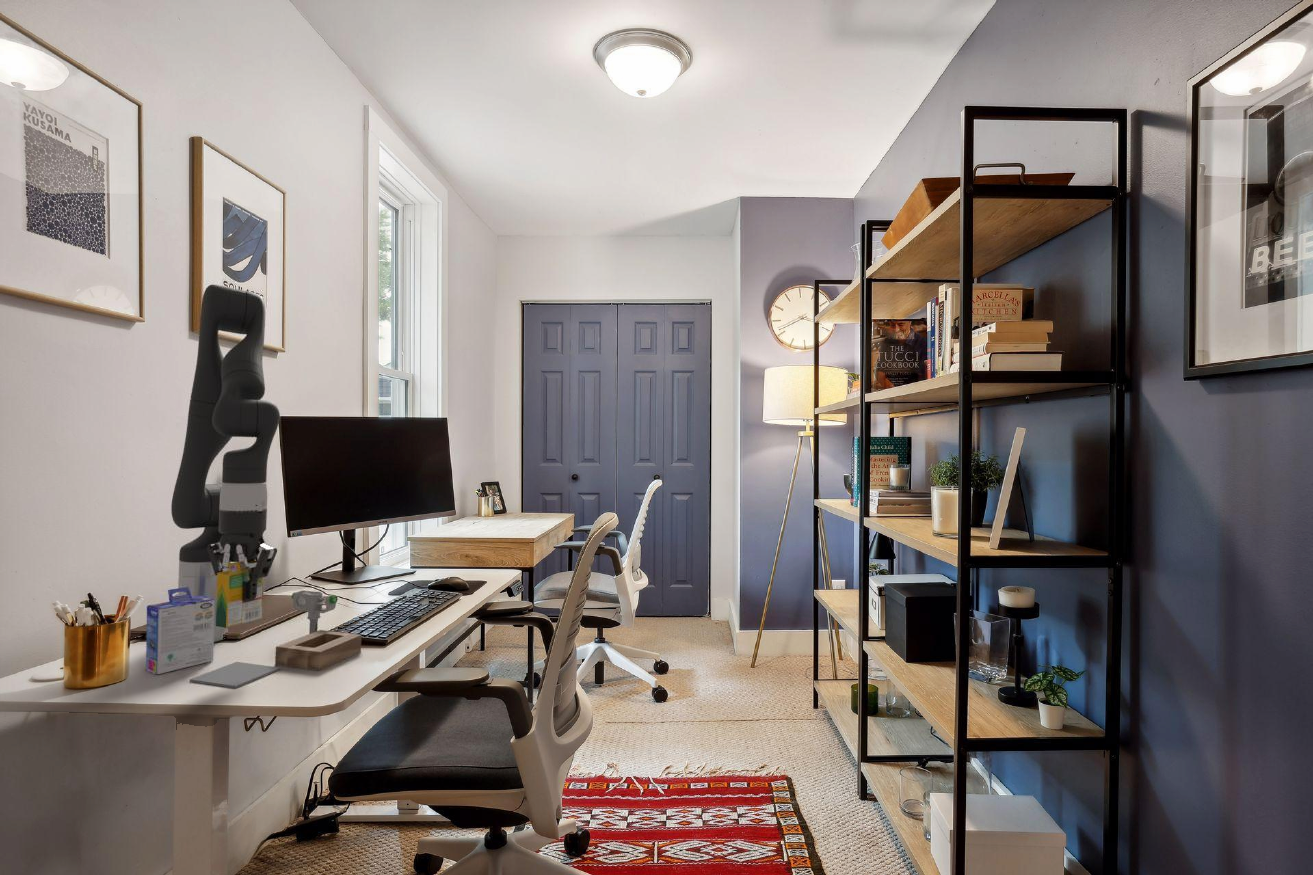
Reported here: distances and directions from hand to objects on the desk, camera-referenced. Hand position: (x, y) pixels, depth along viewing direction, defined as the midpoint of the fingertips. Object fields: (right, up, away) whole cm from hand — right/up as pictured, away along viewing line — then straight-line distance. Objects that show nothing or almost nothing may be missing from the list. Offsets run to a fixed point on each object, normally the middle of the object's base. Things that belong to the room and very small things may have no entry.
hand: (240, 599), depth 123 cm
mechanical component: (+2, -14, +23) cm, 27 cm away
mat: (-1, -14, 0) cm, 14 cm away
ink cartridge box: (-14, -14, +4) cm, 20 cm away
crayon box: (0, -4, 0) cm, 4 cm away
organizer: (+9, -14, +11) cm, 20 cm away
